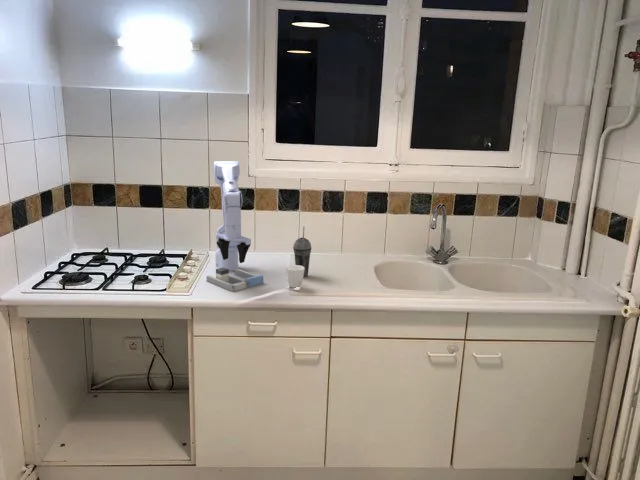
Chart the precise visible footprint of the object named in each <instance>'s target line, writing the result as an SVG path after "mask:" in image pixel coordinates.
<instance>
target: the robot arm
mask: <svg viewBox="0 0 640 480" xmlns="http://www.w3.org/2000/svg"><path fill="white" fill-rule="evenodd" d="M240 171H241V170H240V162H239V161H238V160H236V161H228V160H227V161H216V160H215V161H214V162H213V174H214V175H213V177H214V182H215V183H216V184H217V185H219V188H220V191H221V193H220V195H221V210H222V211H221V214H222V215H221V216H222V225H221V226H219V227H218V228H216V229H217V230H216V234H215V243H216V248H217V249H216V251H215V255H214V256H215V257H214V259H215V267H216V268H217V269H218V268H223V267H224V268H226V269H229V272H231V271H235V269H237V268H238V269H239V264H243V263H245V260H246V256H247V253H248V251H249V249H250V247H251V244H252V239H251V238H249V237H246V236H243V235H242V207H243V194H242V191H240V188H239V183H238V181H239V176H240Z"/></svg>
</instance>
